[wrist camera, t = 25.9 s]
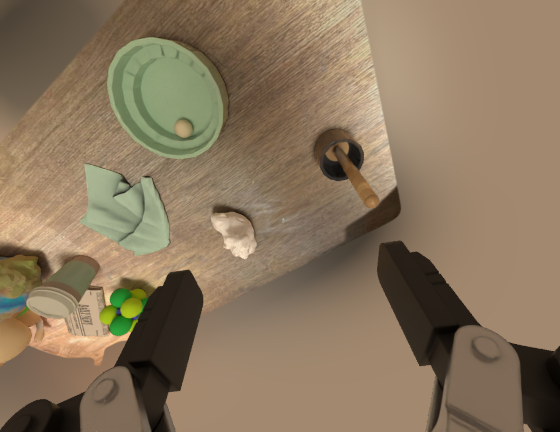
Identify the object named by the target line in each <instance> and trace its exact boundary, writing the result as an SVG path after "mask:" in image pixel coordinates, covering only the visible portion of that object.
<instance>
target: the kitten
mask: <svg viewBox="0 0 560 432" xmlns="http://www.w3.org/2000/svg"><path fill="white" fill-rule="evenodd" d="M34 324H36V328H37V331H36V334H35V337H34V340H35V342H40V341H41V340H42V339H43V337H44V324H43V320H42V319H41V318H40V315H38V314H36V313H34V312H33V311H31V310H30V309H29V308H28V307H27V306H26V307H25V308H23V309H22V310H20V311H18V312H16V313H12V314H11V315H10V316H9V317H7V318H4V319H2V320H0V367H1V366H2V365H3V363H4V362H6V361H8V360H10V359H12V358H14V357H15V356H16V355H18V354H19V353H20V352H21V351H23V350H24V349H25V348H26V346H27V345H28V344H29V342H30V340H31V337H32V333H31V330H30V328H29V327H30V326H32V325H34Z"/></svg>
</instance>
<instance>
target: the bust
mask: <svg viewBox="0 0 560 432" xmlns="http://www.w3.org/2000/svg"><path fill="white" fill-rule="evenodd" d="M211 221H212V224H213V226H214V228H215V229H216V230H217V231H219V232H221V234H222V235H223V238H224V239H225V240H224V243H225V245H223V248H226V249H231V251H232V254H233V255H234V256H240V257H242V258H243V259H246V258H247V257H248V255H249V254H252V253H253V252H254V251H255V247H256V245H257V243H256V241H255V238H254V229H253V227H252V224H251V222H250V221H249V220H248V219H247V218H246V217H244V216H243V215H241V214H238V213H235V212H228V213H214V214H213V215H211Z"/></svg>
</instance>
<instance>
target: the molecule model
mask: <svg viewBox="0 0 560 432" xmlns="http://www.w3.org/2000/svg"><path fill="white" fill-rule="evenodd" d="M147 300H148V298H146V293H145V292H144V291H143V290H142V289H134V290H132V291H129V290H128V289H124V288H121V289H118V290H116V291H114V292H113V293H112V295H111V297H110V303H111V304H112V305H109V306H106V307H105V308H103V309H102V311H101V312H100V315H99V319H100V321H101V322H102V323H103V324H106V325H110V327H109V329H110V332H111V333H112V334H113V335H115V336H121V335H124V334H126V333H127V332H128V331H130V332H132V330H133V328H134V326H135V324H136V322H138V318H139V316H140V314H141V312H143V308H144V306H145V304H146V302H147Z"/></svg>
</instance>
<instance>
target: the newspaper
mask: <svg viewBox="0 0 560 432" xmlns="http://www.w3.org/2000/svg"><path fill="white" fill-rule="evenodd" d="M103 308H105V302H104V296H103V290H102V288H101V287H95V286H89V287H88V289H87V290H86V292H85V294H84V295H83V297H82V299H81V300H80V302H79V304H78V308H77V309H76V310H75V311H74V312H73V313H71V314H70V315H68V316H67V317H65V318H64V319H65V322H66V325H67V327H68V330H69V333H70V334H72V335H78V336H108V335H109V328H108V325H106V324H103V323H102V322H101V321H100V319H99V315H100V312H101V311H102V309H103Z"/></svg>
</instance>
